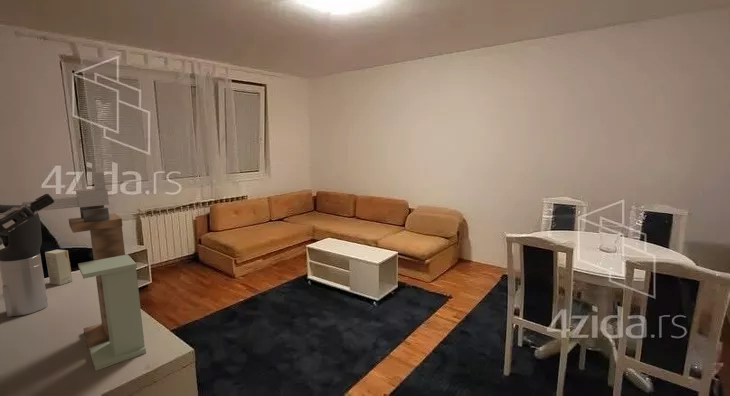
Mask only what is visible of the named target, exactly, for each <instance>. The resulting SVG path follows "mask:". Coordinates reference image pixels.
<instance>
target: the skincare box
mask: <svg viewBox="0 0 730 396" xmlns="http://www.w3.org/2000/svg"><path fill="white" fill-rule="evenodd" d="M44 255H45V261H46V267H47V273H48V279H49V284H52V285H57V286H62V285H65V284H67V283H71V282H73V273H72V269H71V268H72V267H71V261H70V258H69V257H70V256H69V250H68V249H67V250H66V249H53V250H50V251H45V252H44Z"/></svg>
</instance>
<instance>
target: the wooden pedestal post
mask: <svg viewBox="0 0 730 396" xmlns="http://www.w3.org/2000/svg"><path fill="white" fill-rule="evenodd" d="M79 213H80V217H71V218H68V226H69V228H70V230H71V232H72V233H75V234H77V233H82V232H89V234H90V240H91V248H92V255H93V257H92V258H93V261H95V260H100V259H106V258H111V257H116V256H122V255H126V251H125V244H124V243H125V242H124V241H125V240H124V233H123V218H122V217H120V216H119V215H118V214H116V213H110V212H109V207H106V206H105V205H100V206H90V207H80V208H79ZM95 279H96V288H97V295H98V296H97V297H98V302H99V303H98V304H99V311H100V312H99V313H100V319H101V323H97V324H94V325H91V326H87V327H84V328H83V333H84V337H85V340H86V343H87V347H88V348H91V347H94V346H97V345H100V344H103V343H106V342H109V332H108V324H107V316H106V308H105V300H104V292H103V284H102V276H101V275H99V276H95Z"/></svg>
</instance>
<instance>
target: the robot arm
mask: <svg viewBox="0 0 730 396" xmlns="http://www.w3.org/2000/svg"><path fill="white" fill-rule="evenodd" d="M34 200H36V201H34V202H32V203H31V204H27V205H25V206H24V207H23V204H22V203H21V204H16V205H15V204H12V205H11V204H0V246H2V245H3V244H4V241H3V239H2V237H1V236H6V237H7V236H8V245H7V246H6V247H2V248H0V276H1V283H2V287H1V288H2V294H3V299H4V300H3V301H4V305H5V306H4V307H5V311H6V317H7V318H10V317H17V316H24V315H30V314H33V313H36V312H39V311H41V310H43V309H45V308H47V307H48V305H49V302H48V296H47V295H48V294H47V289H46V282H45V276H44V275H45V274H44V268H43V263H42V256H41V246H42V243H43V238H42V237H43V236H42V235H43V234H42V223H41V218H40V215H39V212H40V211H39V210H41V209H43V208H45V207H47V206H49V205H50V204H52V203H54V200H53V197H52V196H51V195H50V194H49V193H45V194H43V195H41V196H39V197H37V198H35V199H34ZM37 210H38V211H37Z"/></svg>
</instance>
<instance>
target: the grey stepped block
mask: <svg viewBox="0 0 730 396" xmlns="http://www.w3.org/2000/svg"><path fill="white" fill-rule="evenodd" d="M92 176H93V187H94V188H85V189H83V188H82V189H75V196H68V197H67V196H66V197H55V198H53V197H52V198H53V200H54V203H52V204H50V205H49V206H47V207H45V208H43V209H41V210H39V211H38V210H37V211H38V212H40V211H41V212H42V211H50V210H52V211H53V210H62V209H63V210H64V209H71V208H72V209H74V208H79V209H80V207H90V206H100V205H104V206H107V205H110V202H109V195H108V189H107V188H106V179H105V173H104V171H93V172H92ZM34 201H36V200H35V199H32V200H31V199H28V200H22V201H21V205H22V204H23V207H24V206H25V205H27V204H31V203H32V202H34Z"/></svg>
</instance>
